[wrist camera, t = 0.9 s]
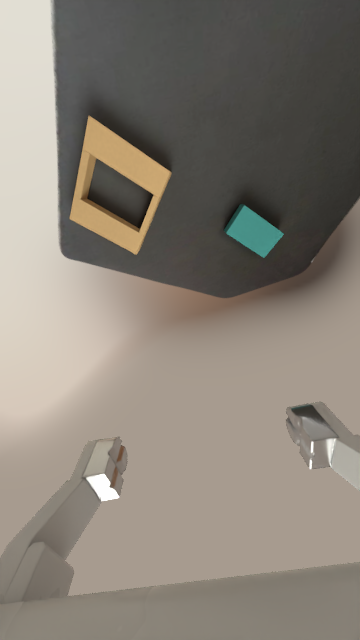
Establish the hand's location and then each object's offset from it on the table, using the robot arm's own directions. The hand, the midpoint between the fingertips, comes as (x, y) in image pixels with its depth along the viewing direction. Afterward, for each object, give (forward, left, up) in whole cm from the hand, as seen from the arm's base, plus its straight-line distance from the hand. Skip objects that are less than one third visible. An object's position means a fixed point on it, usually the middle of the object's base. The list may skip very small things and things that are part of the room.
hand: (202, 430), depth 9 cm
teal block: (-12, +5, -39) cm, 41 cm away
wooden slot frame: (+8, -14, -39) cm, 43 cm away
